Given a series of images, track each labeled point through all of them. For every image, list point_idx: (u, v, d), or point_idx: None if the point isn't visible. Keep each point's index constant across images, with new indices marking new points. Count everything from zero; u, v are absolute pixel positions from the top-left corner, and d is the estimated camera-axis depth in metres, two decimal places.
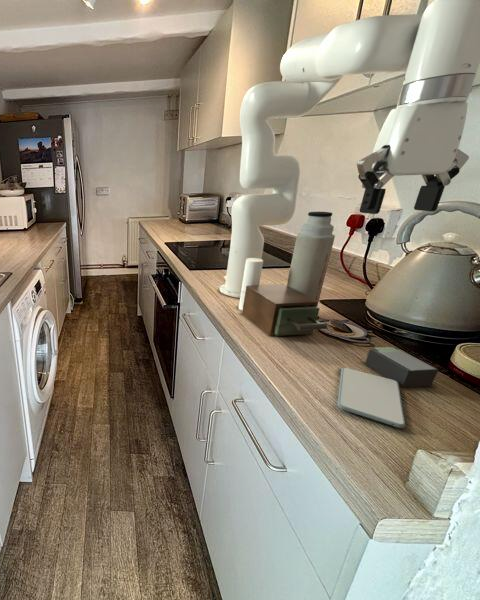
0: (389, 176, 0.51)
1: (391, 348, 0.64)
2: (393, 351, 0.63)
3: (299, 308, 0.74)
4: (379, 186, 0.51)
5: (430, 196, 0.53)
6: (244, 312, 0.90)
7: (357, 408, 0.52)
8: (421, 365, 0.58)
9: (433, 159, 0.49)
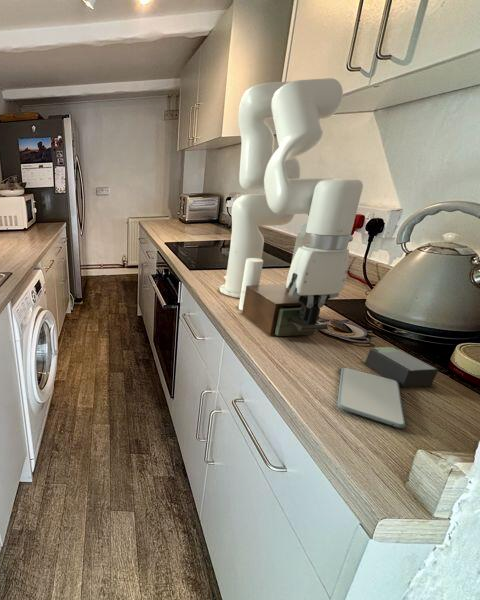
0: (311, 298, 0.69)
1: (391, 348, 0.64)
2: (393, 351, 0.63)
3: (300, 308, 0.74)
4: (310, 306, 0.70)
5: None
6: (244, 312, 0.90)
7: (357, 408, 0.52)
8: (421, 365, 0.58)
9: (328, 286, 0.67)
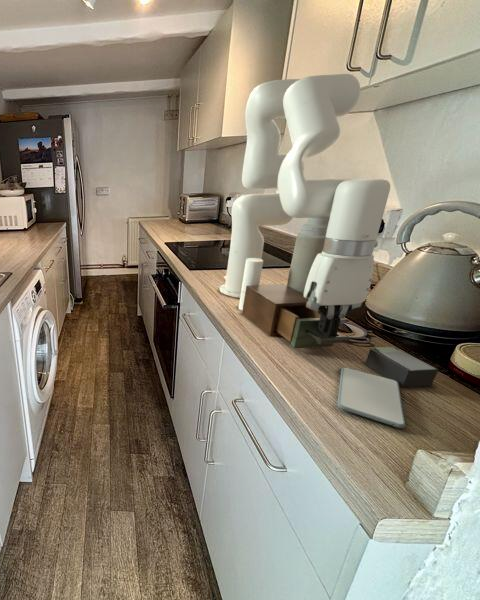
0: (331, 309, 0.64)
1: (391, 348, 0.64)
2: (393, 351, 0.63)
3: (318, 319, 0.69)
4: (330, 317, 0.64)
5: None
6: (244, 312, 0.90)
7: (357, 408, 0.52)
8: (421, 365, 0.58)
9: (350, 295, 0.62)
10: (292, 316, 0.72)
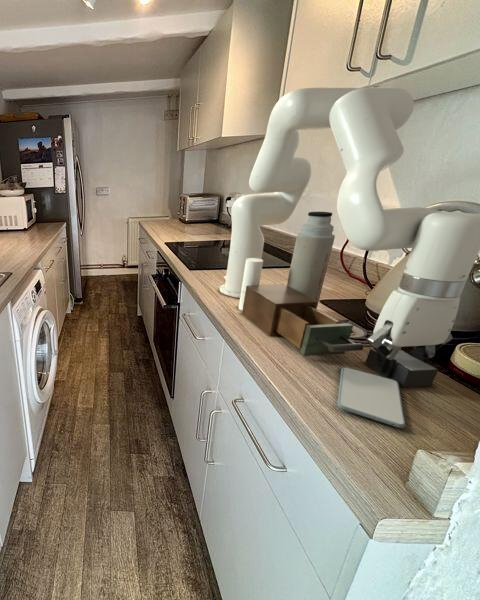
0: (397, 350, 0.58)
1: None
2: None
3: (330, 325, 0.66)
4: (391, 357, 0.59)
5: None
6: (244, 312, 0.90)
7: (357, 408, 0.52)
8: (421, 365, 0.58)
9: (430, 337, 0.57)
10: (302, 322, 0.69)
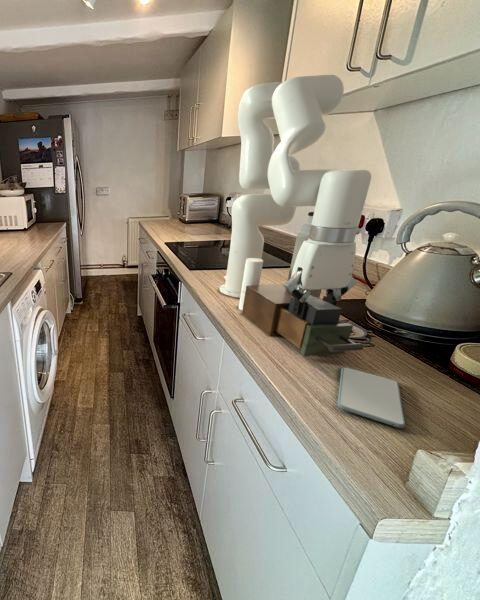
0: (307, 293, 0.67)
1: (309, 296, 0.73)
2: (310, 298, 0.72)
3: (330, 325, 0.66)
4: (303, 300, 0.68)
5: None
6: (244, 312, 0.90)
7: (357, 408, 0.52)
8: (328, 306, 0.67)
9: (334, 280, 0.65)
10: (302, 322, 0.69)
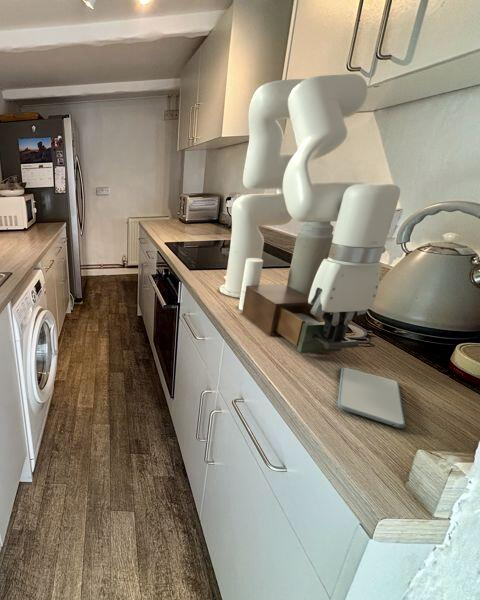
0: (336, 315, 0.62)
1: (300, 314, 0.76)
2: (301, 316, 0.75)
3: None
4: (335, 324, 0.63)
5: None
6: (244, 312, 0.90)
7: (357, 408, 0.52)
8: None
9: (356, 302, 0.60)
10: (298, 320, 0.70)
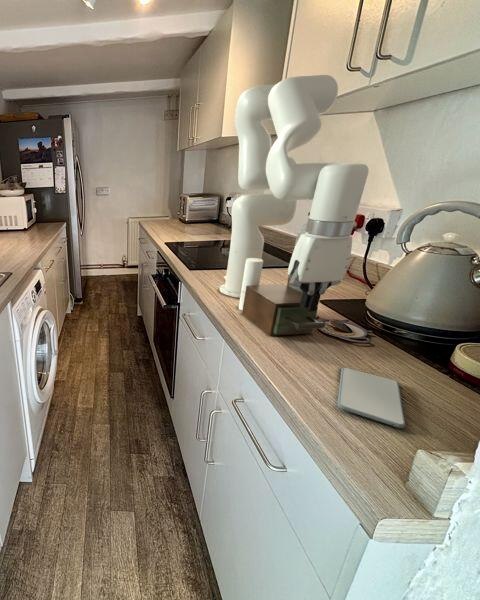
0: (312, 286, 0.69)
1: None
2: None
3: (298, 307, 0.75)
4: (311, 293, 0.70)
5: None
6: (244, 312, 0.90)
7: (357, 408, 0.52)
8: None
9: (330, 273, 0.67)
10: None
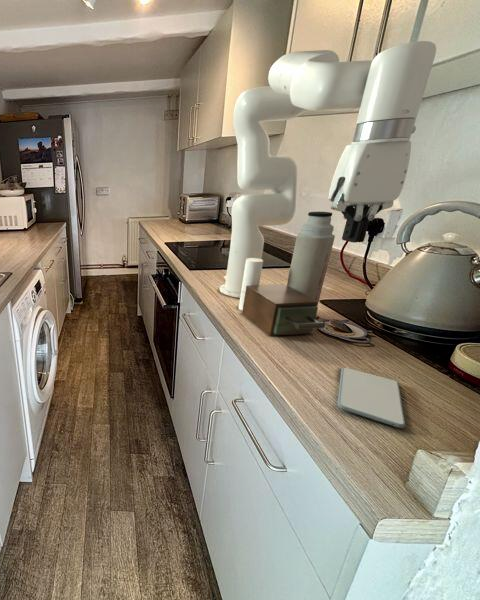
0: (360, 208, 0.57)
1: None
2: None
3: (298, 307, 0.75)
4: (358, 218, 0.58)
5: None
6: (244, 312, 0.90)
7: (357, 408, 0.52)
8: None
9: (383, 190, 0.55)
10: None
